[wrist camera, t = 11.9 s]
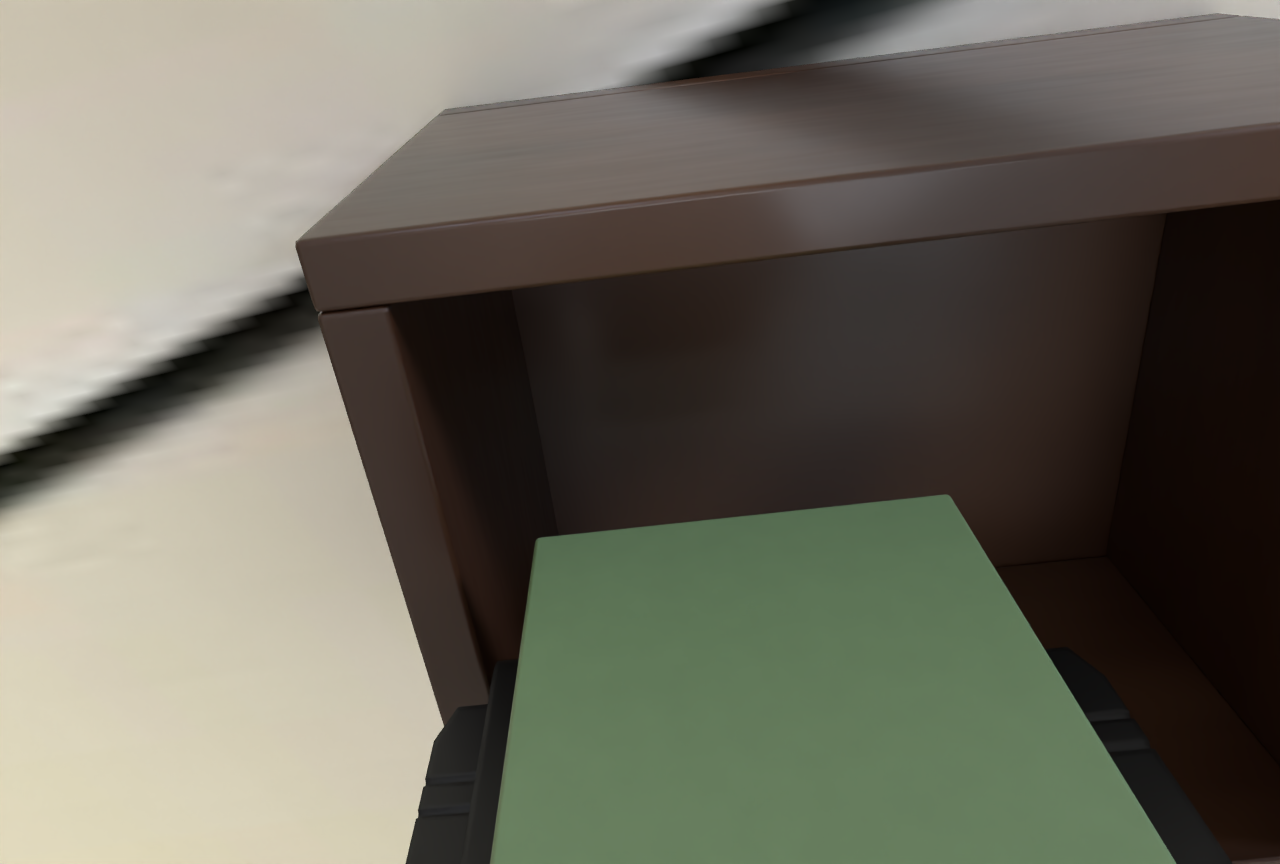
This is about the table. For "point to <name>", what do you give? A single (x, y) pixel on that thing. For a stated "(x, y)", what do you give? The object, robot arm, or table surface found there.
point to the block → (798, 703)
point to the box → (857, 346)
